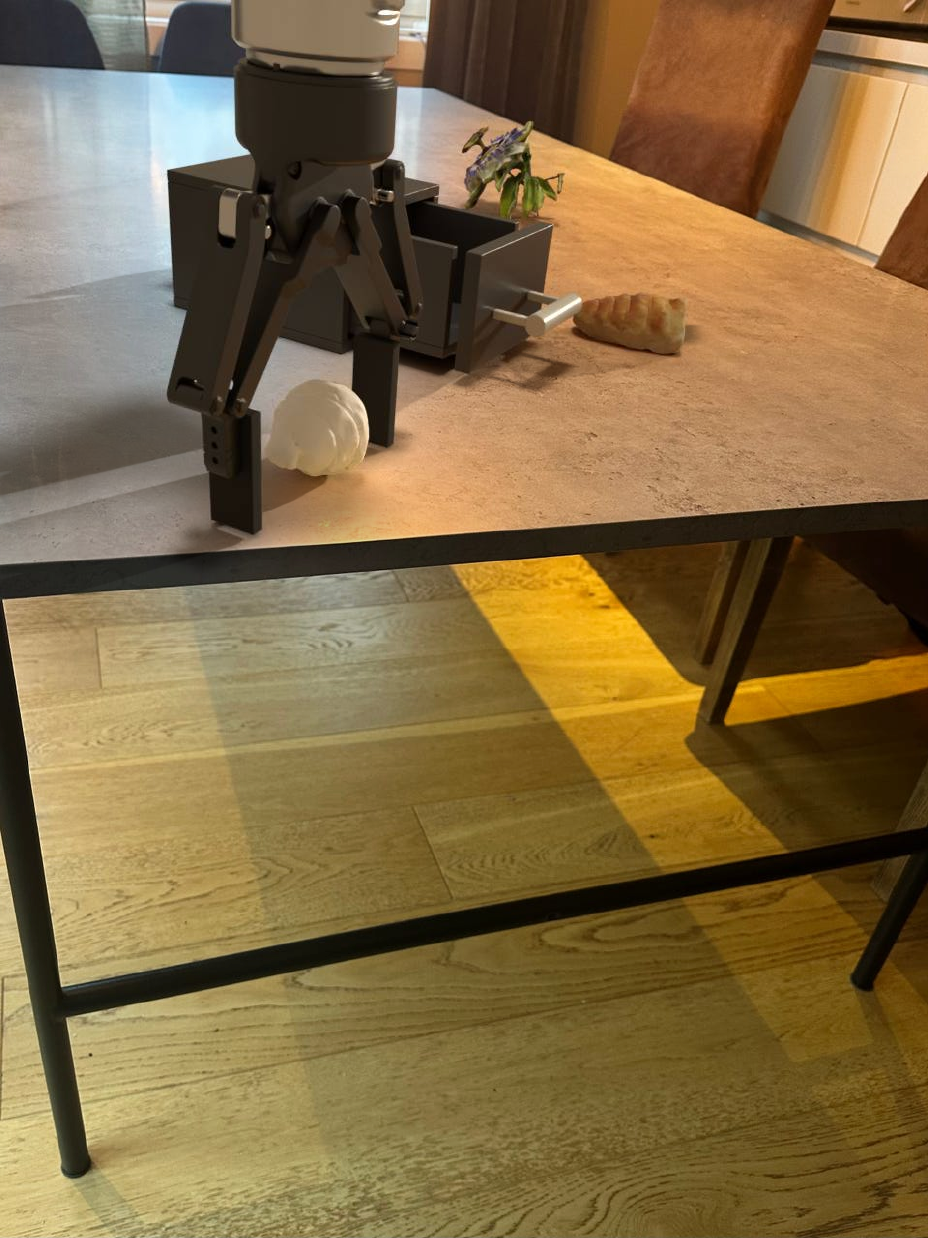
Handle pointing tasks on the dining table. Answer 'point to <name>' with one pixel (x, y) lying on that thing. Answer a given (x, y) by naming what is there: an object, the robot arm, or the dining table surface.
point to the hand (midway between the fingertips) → (309, 479)
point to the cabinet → (312, 311)
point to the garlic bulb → (319, 429)
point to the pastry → (635, 321)
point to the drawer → (478, 284)
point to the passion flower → (507, 172)
